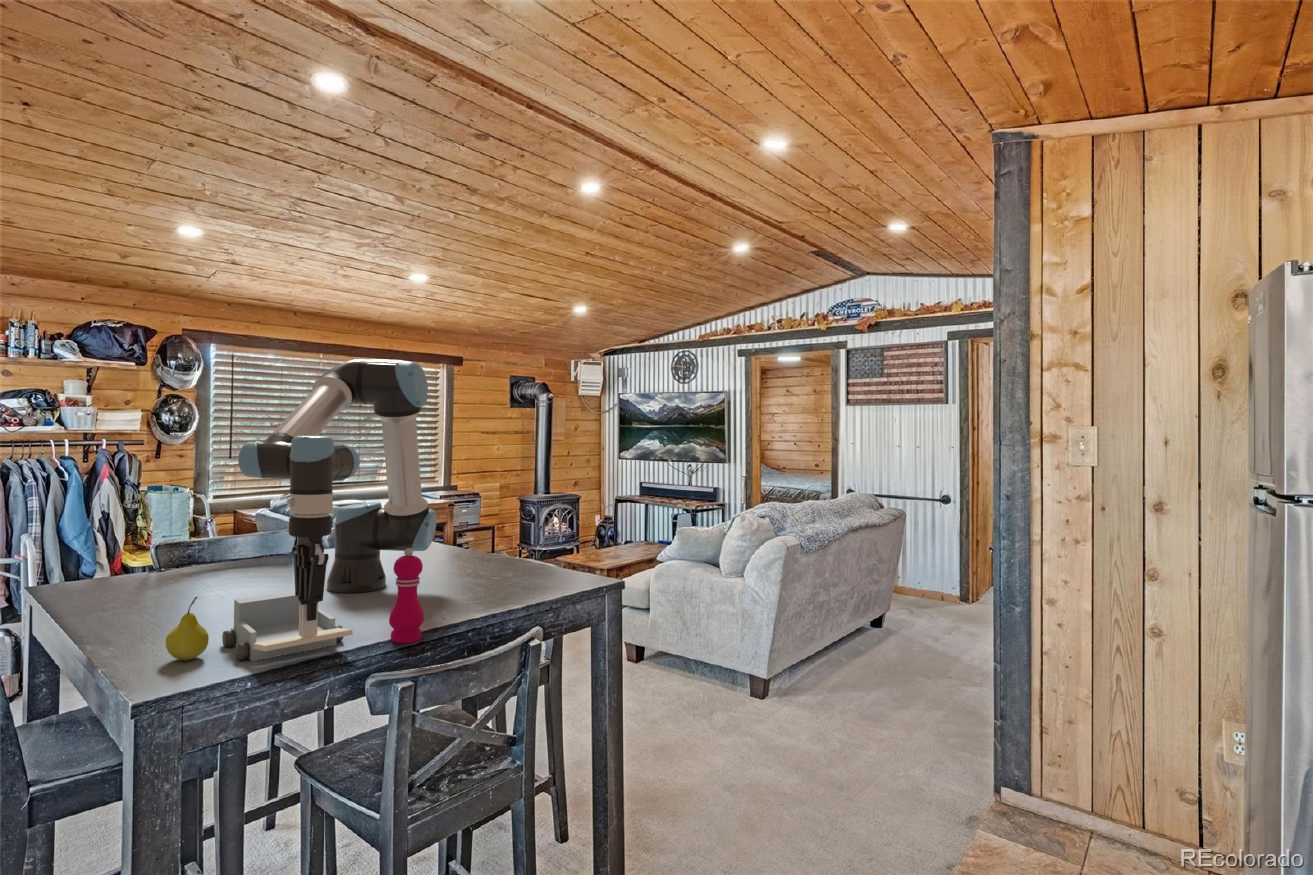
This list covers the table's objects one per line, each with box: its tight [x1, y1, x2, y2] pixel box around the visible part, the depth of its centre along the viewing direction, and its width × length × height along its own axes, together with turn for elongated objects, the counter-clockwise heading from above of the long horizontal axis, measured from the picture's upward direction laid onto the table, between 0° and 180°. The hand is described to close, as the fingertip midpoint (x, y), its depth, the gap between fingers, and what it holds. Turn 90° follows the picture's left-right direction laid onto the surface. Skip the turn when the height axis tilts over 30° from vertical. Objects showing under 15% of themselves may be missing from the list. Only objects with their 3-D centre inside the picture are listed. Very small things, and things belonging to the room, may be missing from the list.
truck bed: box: [221, 590, 345, 663], centre depth 147 cm, size 15×20×9 cm
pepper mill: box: [388, 548, 425, 644], centre depth 153 cm, size 7×7×20 cm
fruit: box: [164, 596, 210, 661], centre depth 136 cm, size 7×7×12 cm
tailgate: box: [253, 627, 353, 651], centre depth 139 cm, size 1×16×8 cm
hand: (307, 635), depth 136 cm, fingers closed
